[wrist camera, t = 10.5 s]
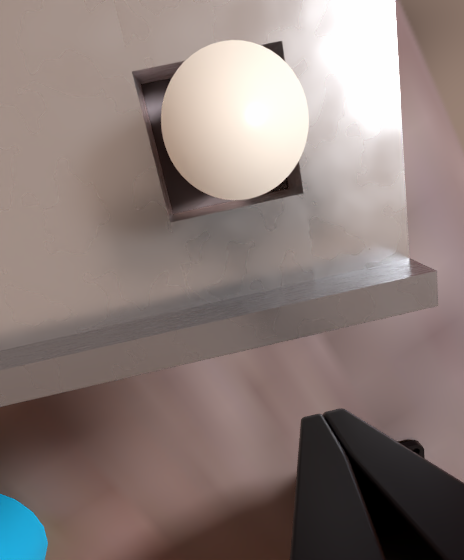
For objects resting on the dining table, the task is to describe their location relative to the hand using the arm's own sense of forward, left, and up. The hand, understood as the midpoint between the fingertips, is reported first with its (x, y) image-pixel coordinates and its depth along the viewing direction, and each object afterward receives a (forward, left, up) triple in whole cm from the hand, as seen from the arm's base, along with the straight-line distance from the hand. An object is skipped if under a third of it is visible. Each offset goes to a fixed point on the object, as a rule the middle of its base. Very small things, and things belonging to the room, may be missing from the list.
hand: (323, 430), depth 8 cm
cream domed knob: (+6, 0, -12) cm, 13 cm away
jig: (+6, +3, -12) cm, 14 cm away
